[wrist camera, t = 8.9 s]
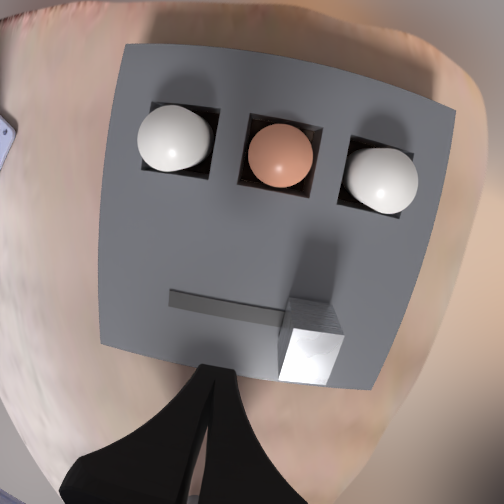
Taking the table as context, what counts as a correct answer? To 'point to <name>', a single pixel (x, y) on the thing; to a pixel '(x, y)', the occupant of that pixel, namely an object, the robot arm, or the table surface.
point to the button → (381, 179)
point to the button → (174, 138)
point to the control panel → (260, 214)
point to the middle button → (280, 155)
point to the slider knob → (308, 342)
